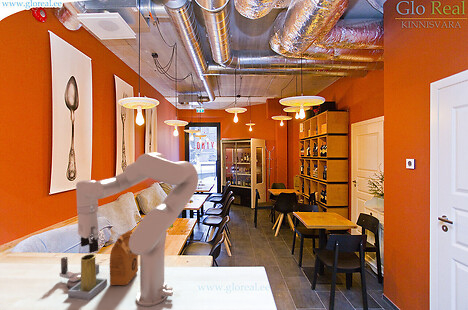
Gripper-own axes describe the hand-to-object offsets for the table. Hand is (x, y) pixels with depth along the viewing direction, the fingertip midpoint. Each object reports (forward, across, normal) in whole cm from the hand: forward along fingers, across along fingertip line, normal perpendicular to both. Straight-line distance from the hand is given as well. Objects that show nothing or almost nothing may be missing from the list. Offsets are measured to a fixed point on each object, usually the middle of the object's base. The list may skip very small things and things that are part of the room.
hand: (89, 248), depth 96 cm
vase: (+18, -1, -1) cm, 18 cm away
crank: (+16, -14, -3) cm, 21 cm away
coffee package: (+19, +2, +13) cm, 24 cm away
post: (+18, -13, +7) cm, 24 cm away
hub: (+18, -11, -2) cm, 21 cm away
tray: (+19, -1, -1) cm, 19 cm away
